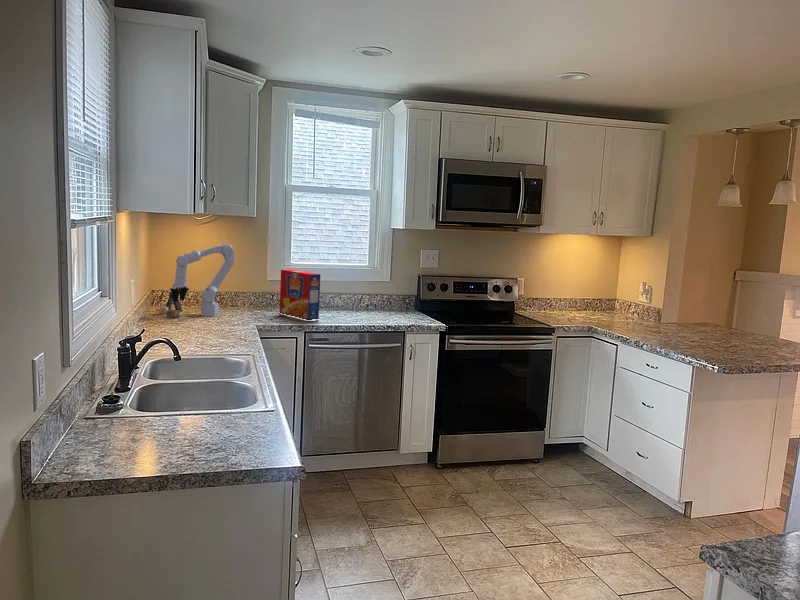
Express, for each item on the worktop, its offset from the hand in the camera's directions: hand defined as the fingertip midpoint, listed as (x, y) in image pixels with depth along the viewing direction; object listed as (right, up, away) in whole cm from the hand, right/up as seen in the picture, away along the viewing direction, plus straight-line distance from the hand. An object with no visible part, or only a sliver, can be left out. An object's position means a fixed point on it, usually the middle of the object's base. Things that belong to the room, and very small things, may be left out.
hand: (178, 300), depth 341 cm
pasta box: (+64, -11, +24) cm, 69 cm away
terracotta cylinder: (-10, -9, +4) cm, 14 cm away
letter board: (0, -11, -6) cm, 12 cm away
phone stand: (-10, -7, +19) cm, 22 cm away
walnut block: (-1, -9, -6) cm, 11 cm away
